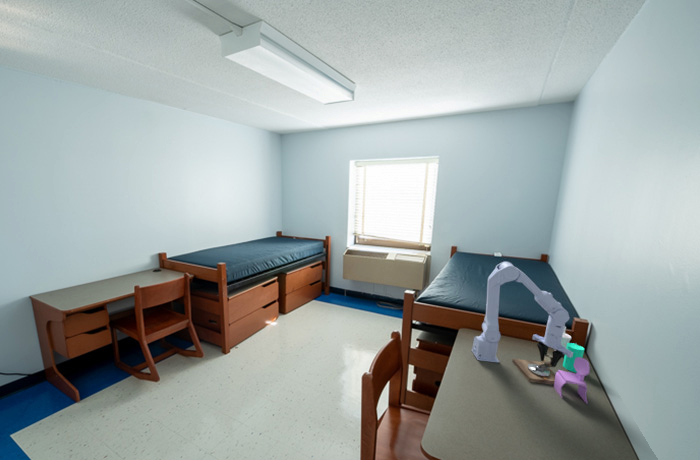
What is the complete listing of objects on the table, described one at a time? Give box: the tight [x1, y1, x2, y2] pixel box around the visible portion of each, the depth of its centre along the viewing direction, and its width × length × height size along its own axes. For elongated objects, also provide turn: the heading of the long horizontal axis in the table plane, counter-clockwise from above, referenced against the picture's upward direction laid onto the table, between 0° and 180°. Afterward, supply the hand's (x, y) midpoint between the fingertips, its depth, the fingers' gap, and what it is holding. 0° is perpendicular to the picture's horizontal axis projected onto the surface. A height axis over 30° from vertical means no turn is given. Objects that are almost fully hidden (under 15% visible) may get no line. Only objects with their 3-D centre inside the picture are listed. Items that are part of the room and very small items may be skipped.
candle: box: [562, 342, 585, 373], centre depth 119 cm, size 6×6×12 cm
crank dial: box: [528, 352, 553, 377], centre depth 113 cm, size 12×8×5 cm, turn 116°
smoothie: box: [554, 326, 572, 351], centre depth 130 cm, size 6×6×14 cm
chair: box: [553, 357, 591, 405], centre depth 101 cm, size 8×9×15 cm
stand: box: [512, 358, 556, 386], centre depth 114 cm, size 13×13×2 cm
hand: (548, 363), depth 115 cm, fingers closed on crank dial, 4 cm apart
